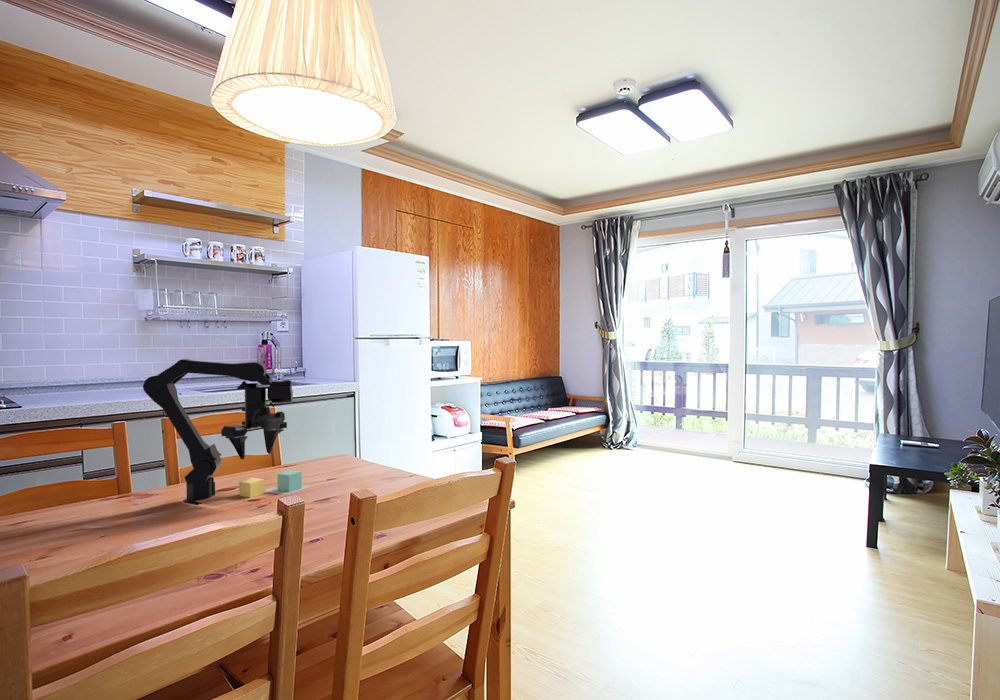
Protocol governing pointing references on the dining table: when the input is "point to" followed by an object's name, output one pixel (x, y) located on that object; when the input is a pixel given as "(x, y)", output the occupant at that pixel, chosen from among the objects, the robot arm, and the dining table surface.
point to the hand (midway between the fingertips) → (256, 455)
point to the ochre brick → (251, 487)
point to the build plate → (275, 490)
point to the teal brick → (289, 481)
